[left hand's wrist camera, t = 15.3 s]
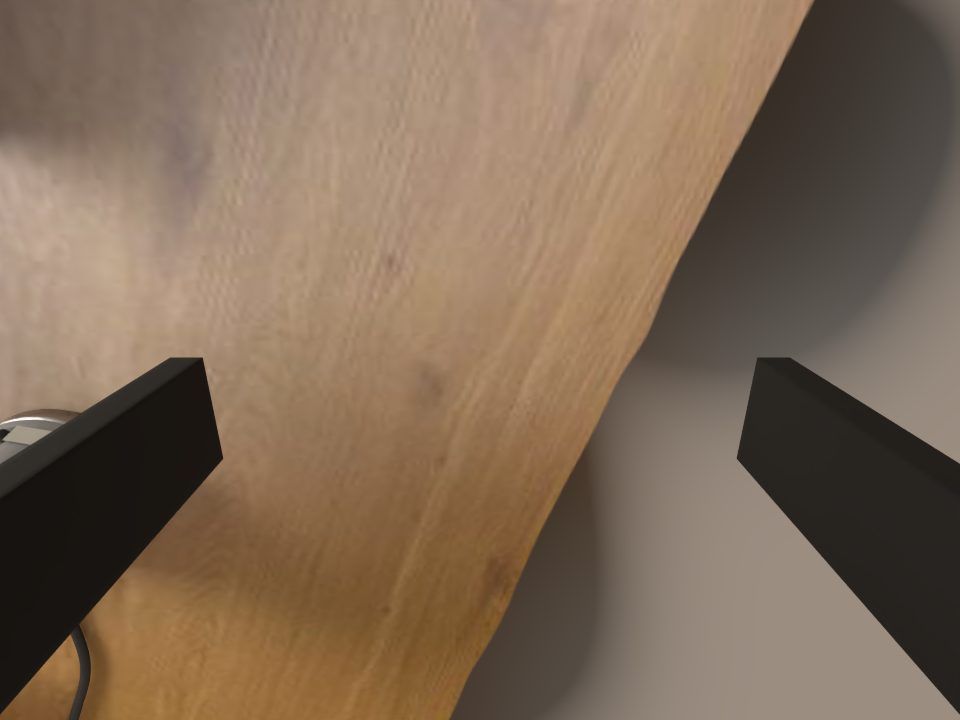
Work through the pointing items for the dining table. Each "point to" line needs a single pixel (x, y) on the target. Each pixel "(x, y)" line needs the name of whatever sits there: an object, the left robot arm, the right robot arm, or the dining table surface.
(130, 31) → the dining table surface
